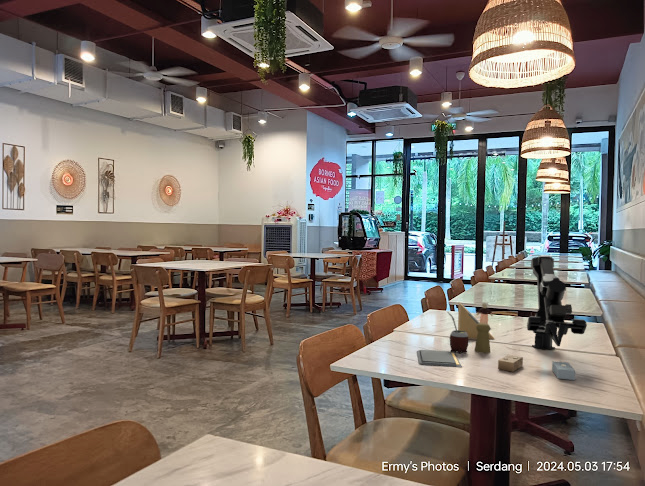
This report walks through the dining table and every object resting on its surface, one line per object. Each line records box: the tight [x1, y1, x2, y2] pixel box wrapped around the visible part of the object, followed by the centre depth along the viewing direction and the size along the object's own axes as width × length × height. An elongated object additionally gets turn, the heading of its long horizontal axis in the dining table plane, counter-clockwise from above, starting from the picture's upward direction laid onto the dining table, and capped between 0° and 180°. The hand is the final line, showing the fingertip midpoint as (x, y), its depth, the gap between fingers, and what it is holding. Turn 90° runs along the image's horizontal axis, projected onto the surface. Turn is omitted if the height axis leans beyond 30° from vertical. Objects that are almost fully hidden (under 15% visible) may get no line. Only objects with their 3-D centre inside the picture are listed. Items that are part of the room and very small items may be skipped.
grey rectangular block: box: [551, 360, 576, 381], centre depth 156 cm, size 4×5×10 cm
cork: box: [474, 322, 491, 354], centre depth 187 cm, size 6×6×11 cm
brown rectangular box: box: [497, 354, 524, 373], centre depth 164 cm, size 4×5×10 cm
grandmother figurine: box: [476, 300, 494, 325], centre depth 238 cm, size 8×4×13 cm, turn 80°
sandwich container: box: [457, 302, 495, 340], centre depth 214 cm, size 9×15×15 cm, turn 79°
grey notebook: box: [416, 349, 463, 369], centre depth 174 cm, size 20×2×15 cm
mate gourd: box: [447, 311, 470, 355], centre depth 185 cm, size 8×8×15 cm
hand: (558, 345), depth 164 cm, fingers closed
